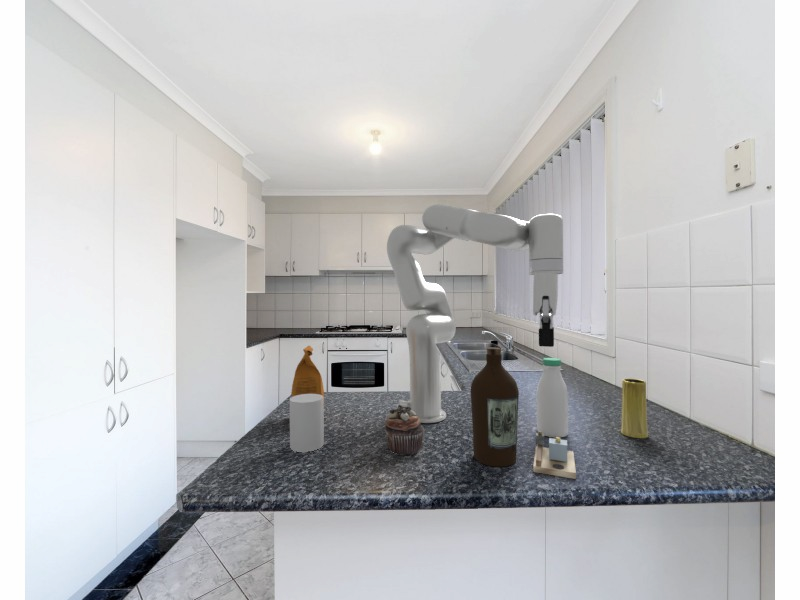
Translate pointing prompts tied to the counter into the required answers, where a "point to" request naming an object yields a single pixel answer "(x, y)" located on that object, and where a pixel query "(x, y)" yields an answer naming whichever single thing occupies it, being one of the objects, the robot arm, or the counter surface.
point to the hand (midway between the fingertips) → (546, 344)
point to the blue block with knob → (558, 449)
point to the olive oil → (494, 413)
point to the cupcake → (404, 431)
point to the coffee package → (307, 377)
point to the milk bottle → (552, 400)
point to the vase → (634, 408)
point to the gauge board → (552, 461)
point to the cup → (306, 422)
